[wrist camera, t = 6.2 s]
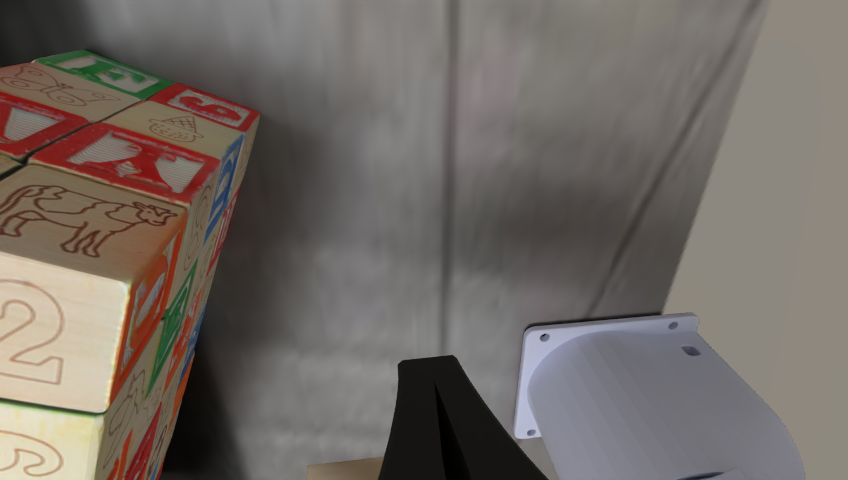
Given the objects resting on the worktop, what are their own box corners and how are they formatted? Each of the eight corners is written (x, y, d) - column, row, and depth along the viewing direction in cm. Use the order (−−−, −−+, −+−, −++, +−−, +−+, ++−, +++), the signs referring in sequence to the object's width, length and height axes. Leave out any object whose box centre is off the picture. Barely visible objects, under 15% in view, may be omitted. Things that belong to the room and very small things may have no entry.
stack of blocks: (165, 471, 27) (37, 805, 16) (36, 454, 25) (-208, 815, 14) (263, 108, 18) (132, 289, 7) (78, 41, 16) (-449, 152, 6)
